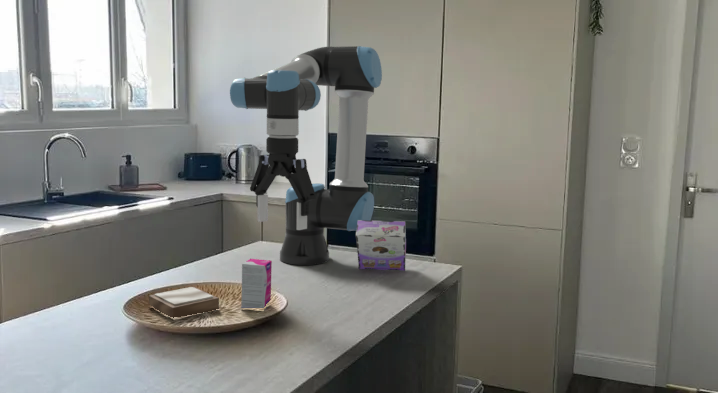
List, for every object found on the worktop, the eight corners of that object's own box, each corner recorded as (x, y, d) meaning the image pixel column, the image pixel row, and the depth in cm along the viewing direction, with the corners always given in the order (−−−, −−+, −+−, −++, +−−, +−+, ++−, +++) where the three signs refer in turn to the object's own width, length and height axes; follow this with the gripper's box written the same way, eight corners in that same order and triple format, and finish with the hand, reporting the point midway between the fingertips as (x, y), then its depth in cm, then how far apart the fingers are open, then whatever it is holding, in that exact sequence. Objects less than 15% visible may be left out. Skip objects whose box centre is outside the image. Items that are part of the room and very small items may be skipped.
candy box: (406, 255, 213) (406, 220, 201) (405, 271, 209) (405, 237, 197) (359, 253, 214) (357, 218, 202) (358, 269, 210) (355, 235, 198)
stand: (148, 307, 172) (148, 293, 171) (193, 298, 180) (193, 285, 179) (173, 320, 163) (172, 306, 162) (219, 310, 171) (218, 296, 170)
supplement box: (264, 312, 170) (264, 265, 168) (240, 310, 171) (240, 263, 169) (272, 305, 176) (272, 259, 174) (249, 303, 177) (248, 258, 175)
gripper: (235, 133, 174) (235, 219, 177) (309, 140, 158) (307, 235, 161) (259, 132, 180) (258, 216, 183) (332, 139, 164) (330, 230, 167)
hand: (281, 225), depth 172 cm, fingers open, 13 cm apart
